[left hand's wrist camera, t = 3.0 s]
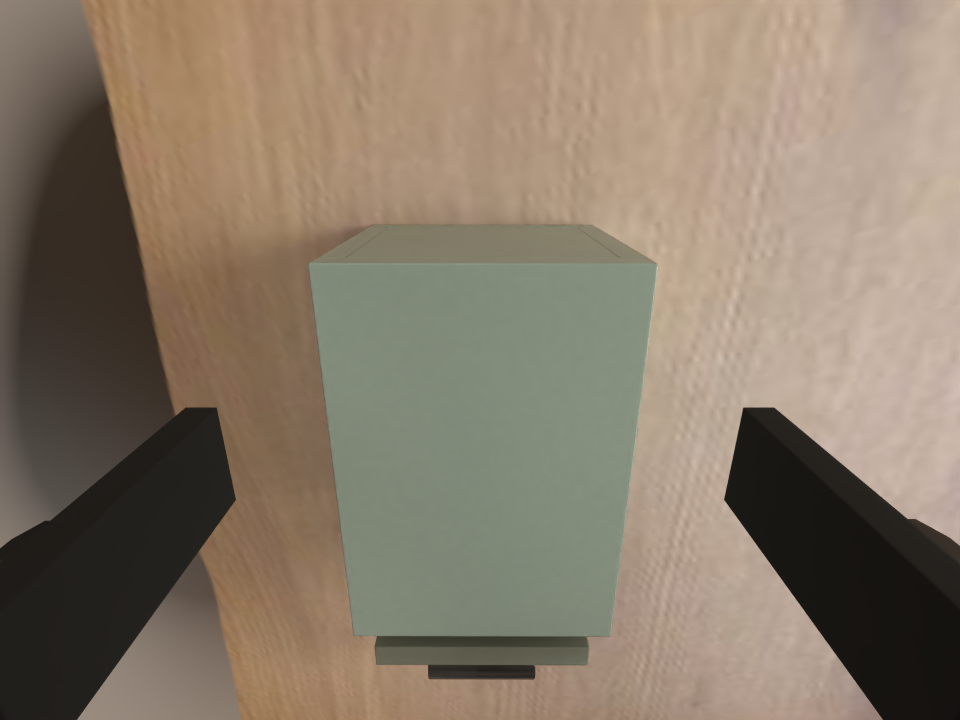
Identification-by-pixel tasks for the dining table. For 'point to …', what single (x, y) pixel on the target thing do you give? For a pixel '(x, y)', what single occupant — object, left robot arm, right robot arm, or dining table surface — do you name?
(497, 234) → the sage green box
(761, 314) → the dining table surface
